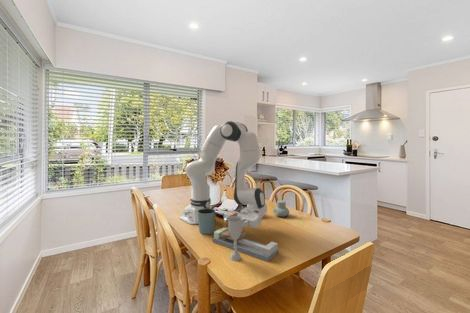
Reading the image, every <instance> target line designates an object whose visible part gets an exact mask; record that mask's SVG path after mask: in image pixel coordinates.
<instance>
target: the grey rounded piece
mask: <svg viewBox="0 0 470 313" xmlns="http://www.w3.org/2000/svg"><path fill="white" fill-rule="evenodd" d="M286 203H287V202H286V201H285V200H281V199H279V200H277V201H276V207H274V208H273V210H272V212H273V214H274V215H275V216H276V217H281V218H284V217H287V216H288V215H289V214H290V210H289V208H287V206H286V205H287V204H286Z"/></svg>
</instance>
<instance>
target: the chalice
mask: <svg viewBox="0 0 470 313" xmlns="http://www.w3.org/2000/svg"><path fill="white" fill-rule="evenodd" d="M227 219H228V222H227V223H228V227H227V228H228V229H229V232H230V235H231V237H232V238H233V239H234V249H233V251H232V252H231V254H230V256H229V259H230V261H235V262H237V261H240V260H242V257H241V253H240V252H239V251H237V248H238V247H237V239H239V237H240V235H241V232H243V229H244V228H243V227H244V226H243V219H244V218H243V217H241V216H230V217H228V218H227Z"/></svg>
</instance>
